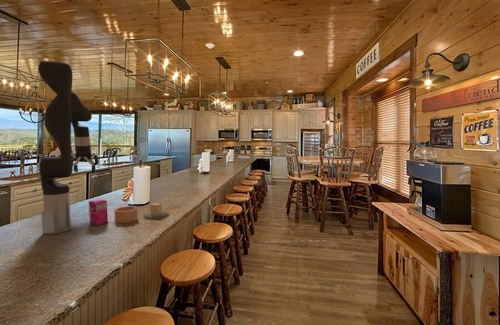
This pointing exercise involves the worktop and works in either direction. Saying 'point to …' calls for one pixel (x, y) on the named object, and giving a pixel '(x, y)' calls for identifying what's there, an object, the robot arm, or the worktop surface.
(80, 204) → the worktop surface
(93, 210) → the supplement box
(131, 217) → the bowl
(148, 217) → the lid
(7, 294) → the worktop surface
